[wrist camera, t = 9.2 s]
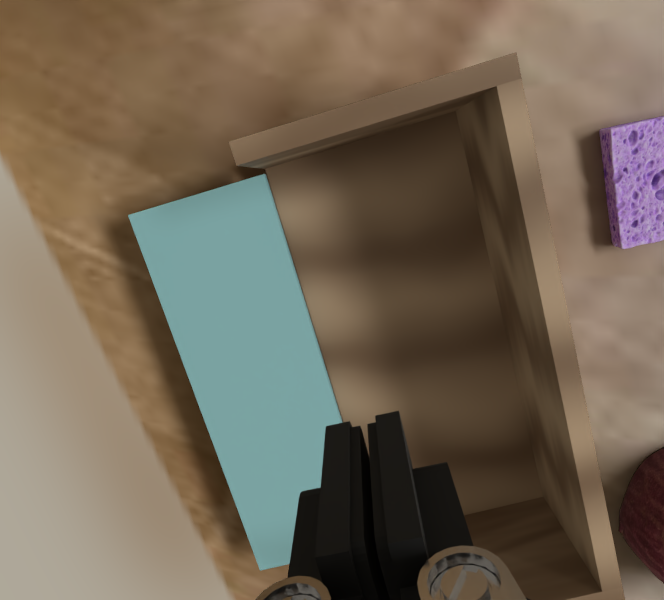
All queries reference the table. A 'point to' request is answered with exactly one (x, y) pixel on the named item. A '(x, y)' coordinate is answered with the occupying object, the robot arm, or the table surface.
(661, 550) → the vegetable
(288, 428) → the panel
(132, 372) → the table surface
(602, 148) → the sponges
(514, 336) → the tray
